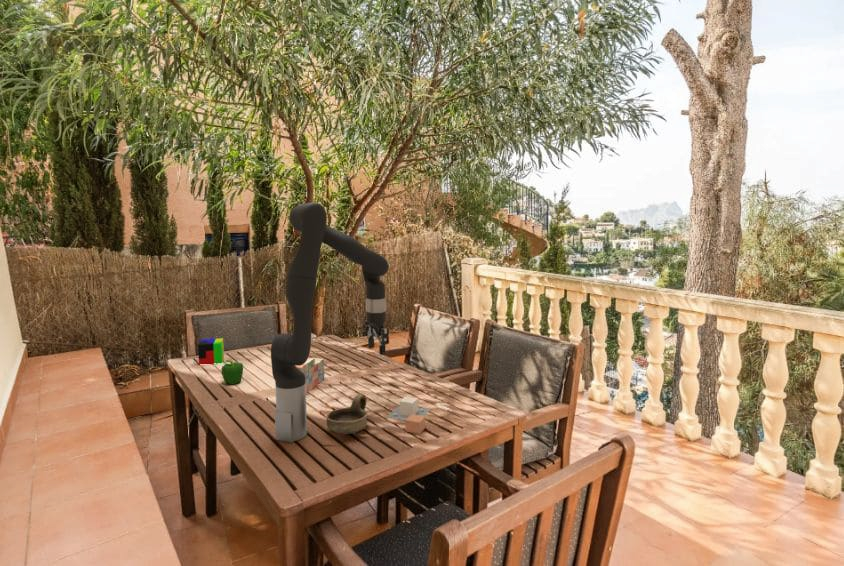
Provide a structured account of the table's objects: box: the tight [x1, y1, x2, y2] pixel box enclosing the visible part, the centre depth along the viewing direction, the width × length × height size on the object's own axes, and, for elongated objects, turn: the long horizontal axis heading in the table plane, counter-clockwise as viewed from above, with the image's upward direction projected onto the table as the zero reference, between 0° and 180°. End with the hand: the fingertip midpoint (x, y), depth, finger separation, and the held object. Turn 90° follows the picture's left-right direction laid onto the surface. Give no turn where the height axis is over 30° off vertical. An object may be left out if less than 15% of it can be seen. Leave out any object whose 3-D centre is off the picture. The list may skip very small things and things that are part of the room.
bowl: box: [325, 393, 369, 435], centre depth 154 cm, size 14×18×10 cm
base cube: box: [399, 395, 419, 416], centre depth 165 cm, size 5×5×5 cm
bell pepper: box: [221, 359, 244, 385], centre depth 197 cm, size 8×8×10 cm
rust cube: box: [405, 414, 426, 435], centre depth 153 cm, size 5×5×5 cm
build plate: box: [386, 404, 431, 422], centre depth 166 cm, size 12×12×2 cm
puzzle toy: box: [197, 337, 225, 365], centre depth 226 cm, size 10×10×10 cm
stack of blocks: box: [295, 357, 325, 395], centre depth 193 cm, size 21×6×12 cm, turn 168°
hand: (376, 351), depth 176 cm, fingers open, 8 cm apart
